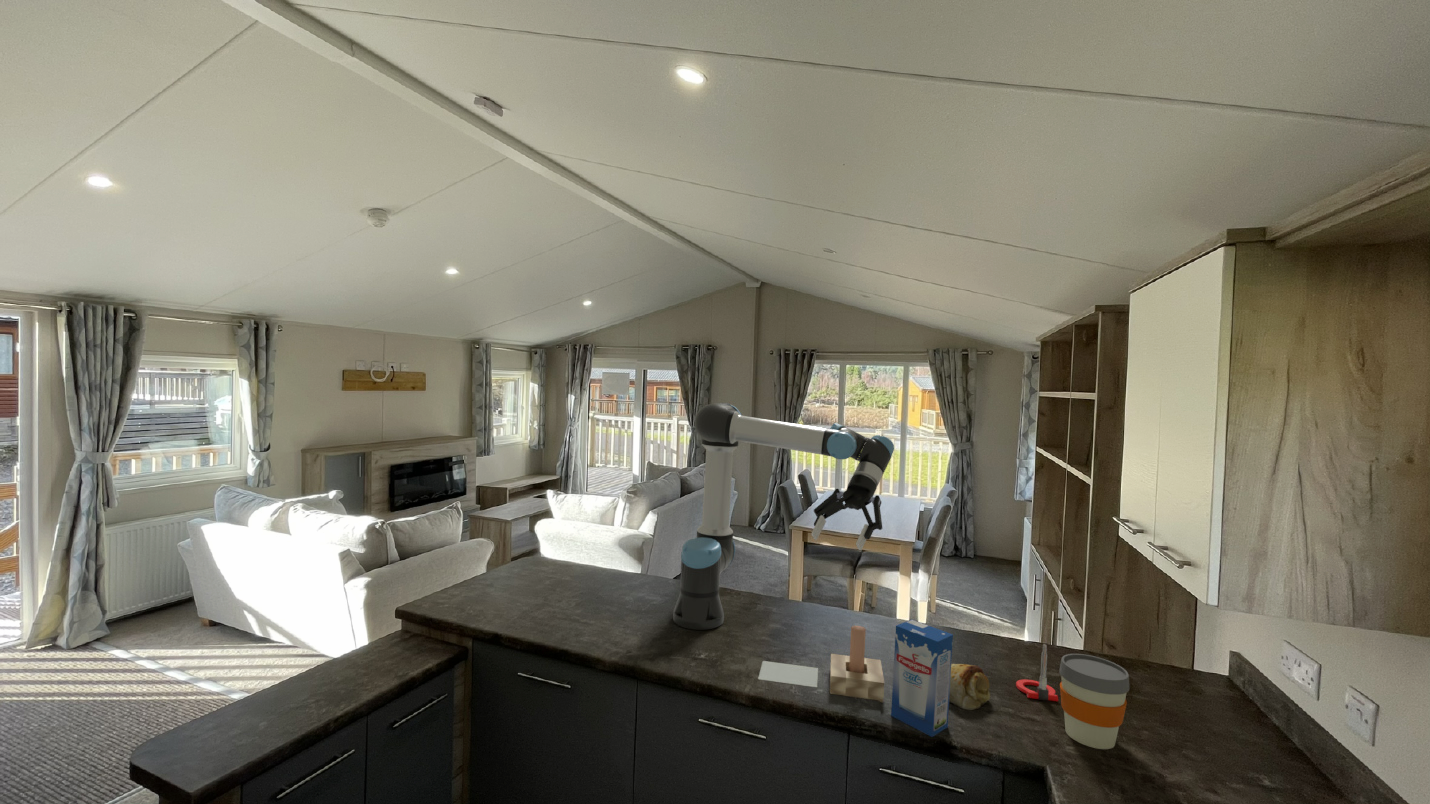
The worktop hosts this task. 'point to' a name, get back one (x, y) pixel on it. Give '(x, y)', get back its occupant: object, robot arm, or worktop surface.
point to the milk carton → (922, 676)
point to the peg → (857, 649)
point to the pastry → (968, 686)
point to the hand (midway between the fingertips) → (835, 542)
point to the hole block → (856, 678)
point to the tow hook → (1039, 683)
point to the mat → (789, 674)
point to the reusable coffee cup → (1093, 699)
